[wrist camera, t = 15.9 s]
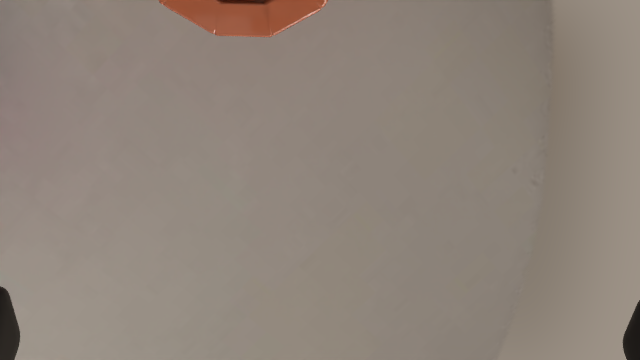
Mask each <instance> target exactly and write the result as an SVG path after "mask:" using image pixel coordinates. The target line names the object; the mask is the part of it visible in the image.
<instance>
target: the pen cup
mask: <svg viewBox="0 0 640 360" xmlns="http://www.w3.org/2000/svg"><path fill="white" fill-rule="evenodd" d="M158 1H159V2H160V3H161V4H163V5H164V6H165V7H167V8H169V9H170V10H172V11H174V12H175V13H177V14H179V15H181V16H182V17H184V18H186V19H188V20H189V21H191V22H193V23H194V24H196V25H198V26H200V27H201V28H203V29H205V30H207V31H208V32H210V33H212V34H215V35H217V36H248V37H271V36H272V35H277V34H278V33H280V32H282V31H284V30H286V29H288V28H289V27H291V26H293V25H295V24H297V23H299V22H300V21H302V20H304V19H306V18H308V17H310V16H311V15H313V14H315V13H317V12H319V11H320V10H321V8H323V7H324V6H325V5H326V3H327V2H328V0H158Z"/></svg>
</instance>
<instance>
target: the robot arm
mask: <svg viewBox="0 0 640 360" xmlns="http://www.w3.org/2000/svg"><path fill="white" fill-rule="evenodd" d="M19 342H20V331H19V326H18V323H17V319H16V316H15V312H14V309H13V306H12V302H11V299H10V295H9V293H8V291H7V290H6V289H5V288H3V287H0V360H14V359H15V356H16V353H17V350H18V347H19ZM623 348H624V353H625V356H626V359H627V360H640V300H639V302H638V304H637V306H636V308H635V311H634V313H633V315H632V318H631V320H630V322H629V325H628V327H627V329H626V331H625V334H624V338H623Z"/></svg>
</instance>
